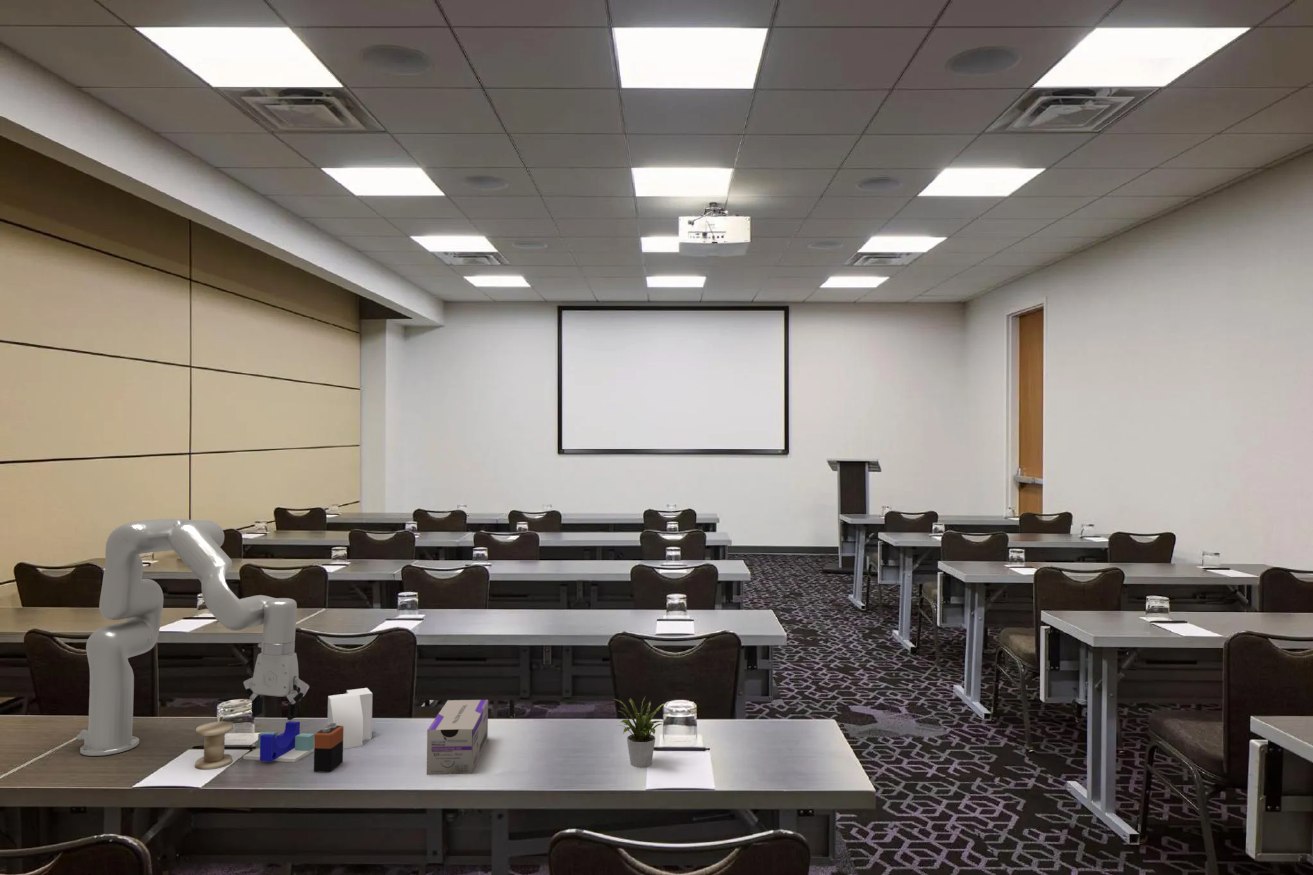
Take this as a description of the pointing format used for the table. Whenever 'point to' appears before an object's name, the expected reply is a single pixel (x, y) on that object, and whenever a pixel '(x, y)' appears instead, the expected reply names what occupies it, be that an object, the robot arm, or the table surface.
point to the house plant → (640, 735)
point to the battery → (328, 748)
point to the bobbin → (214, 745)
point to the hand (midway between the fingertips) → (274, 716)
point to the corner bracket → (352, 715)
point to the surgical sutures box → (457, 737)
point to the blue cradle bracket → (278, 742)
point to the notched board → (302, 748)
